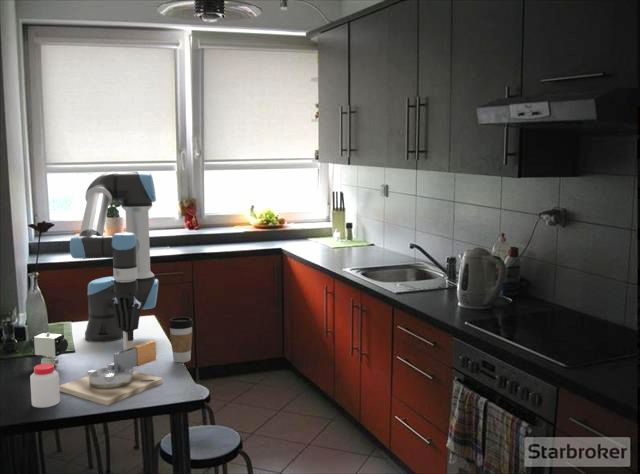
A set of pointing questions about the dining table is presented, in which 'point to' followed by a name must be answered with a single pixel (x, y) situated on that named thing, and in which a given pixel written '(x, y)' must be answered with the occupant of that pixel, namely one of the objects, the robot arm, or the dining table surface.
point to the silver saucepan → (123, 366)
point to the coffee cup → (181, 338)
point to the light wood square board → (112, 394)
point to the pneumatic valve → (49, 347)
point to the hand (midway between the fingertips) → (128, 349)
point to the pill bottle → (45, 386)
